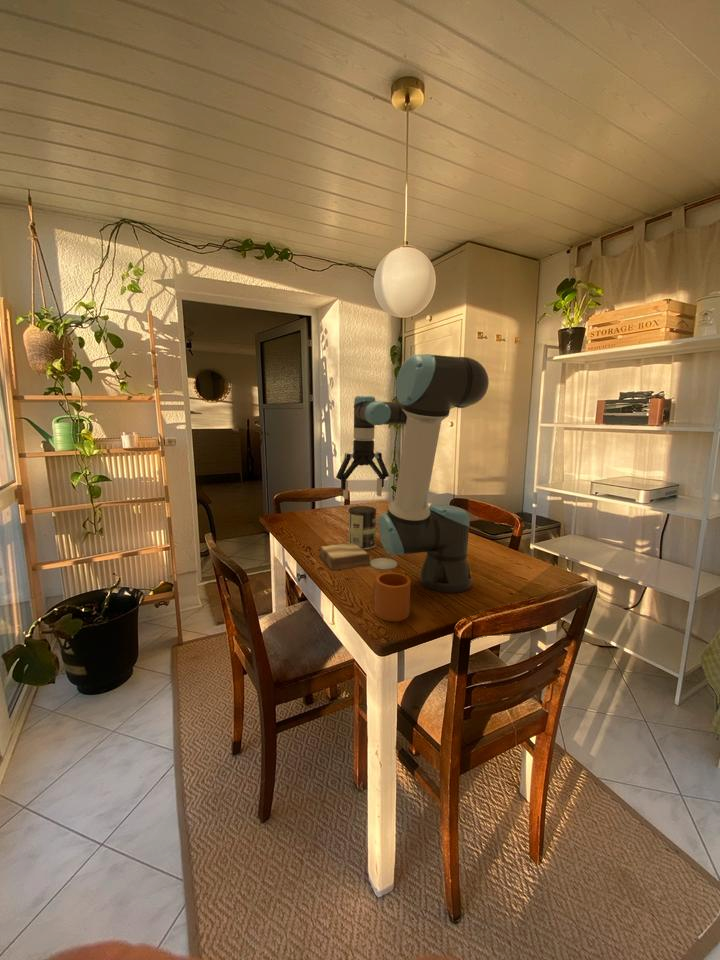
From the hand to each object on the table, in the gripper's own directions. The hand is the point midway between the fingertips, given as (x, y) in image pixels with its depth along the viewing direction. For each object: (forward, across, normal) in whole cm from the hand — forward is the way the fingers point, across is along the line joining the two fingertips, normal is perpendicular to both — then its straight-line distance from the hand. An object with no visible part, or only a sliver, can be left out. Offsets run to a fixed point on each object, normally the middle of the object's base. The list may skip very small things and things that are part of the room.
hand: (362, 497), depth 148 cm
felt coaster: (+18, +1, +20) cm, 27 cm away
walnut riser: (+18, +12, +12) cm, 25 cm away
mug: (+18, +14, +48) cm, 53 cm away
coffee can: (+19, 0, 0) cm, 19 cm away
